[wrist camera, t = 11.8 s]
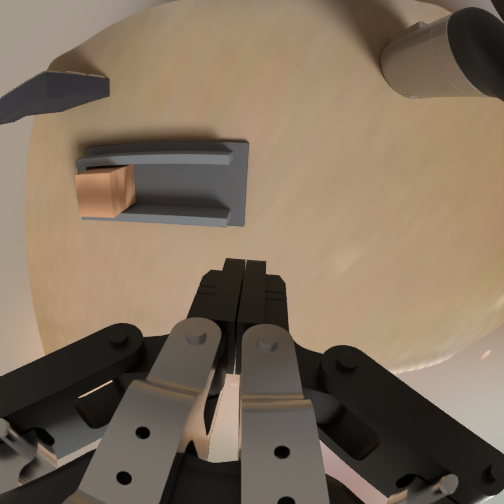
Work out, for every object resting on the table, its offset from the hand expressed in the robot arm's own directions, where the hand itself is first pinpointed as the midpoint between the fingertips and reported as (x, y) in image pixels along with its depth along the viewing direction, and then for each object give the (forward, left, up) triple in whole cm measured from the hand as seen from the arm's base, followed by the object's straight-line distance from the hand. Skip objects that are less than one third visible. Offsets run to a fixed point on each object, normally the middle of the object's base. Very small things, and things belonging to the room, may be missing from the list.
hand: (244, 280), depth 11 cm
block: (+3, -22, -28) cm, 36 cm away
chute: (+3, -15, -29) cm, 33 cm away
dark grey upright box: (-12, -29, -29) cm, 43 cm away
